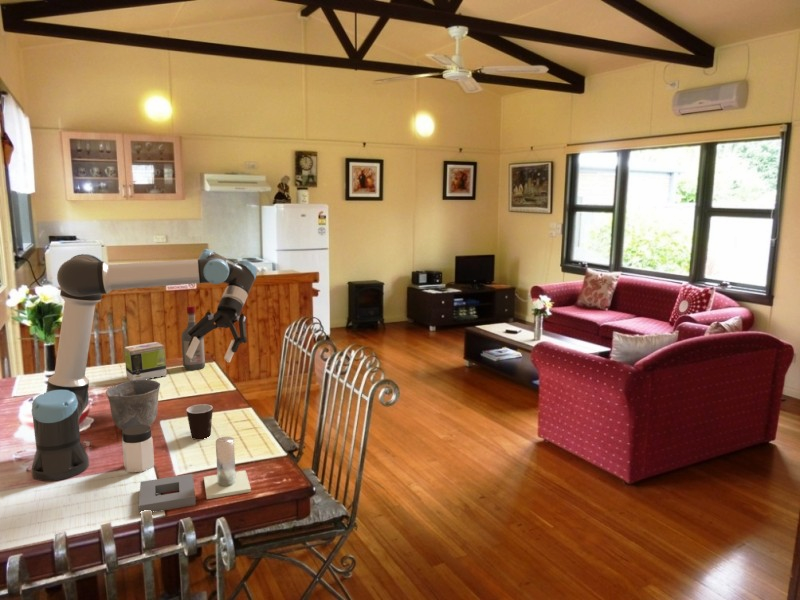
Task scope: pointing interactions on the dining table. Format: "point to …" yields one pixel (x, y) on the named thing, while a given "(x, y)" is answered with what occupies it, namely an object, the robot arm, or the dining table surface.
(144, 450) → the jar
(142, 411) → the grey tapered pot
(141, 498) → the grey square base
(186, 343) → the liquor
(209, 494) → the cream square tile
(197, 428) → the coffee mug
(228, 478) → the steel peg
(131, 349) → the tea box
